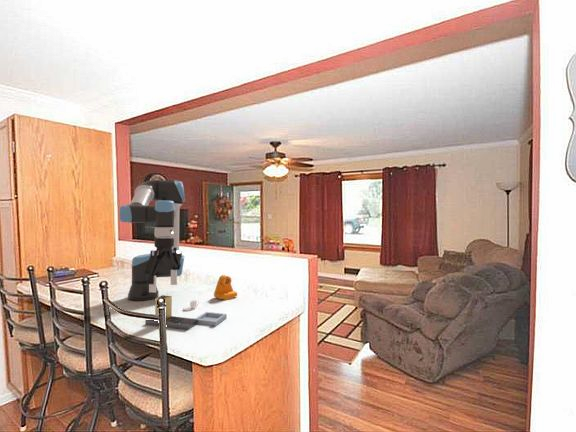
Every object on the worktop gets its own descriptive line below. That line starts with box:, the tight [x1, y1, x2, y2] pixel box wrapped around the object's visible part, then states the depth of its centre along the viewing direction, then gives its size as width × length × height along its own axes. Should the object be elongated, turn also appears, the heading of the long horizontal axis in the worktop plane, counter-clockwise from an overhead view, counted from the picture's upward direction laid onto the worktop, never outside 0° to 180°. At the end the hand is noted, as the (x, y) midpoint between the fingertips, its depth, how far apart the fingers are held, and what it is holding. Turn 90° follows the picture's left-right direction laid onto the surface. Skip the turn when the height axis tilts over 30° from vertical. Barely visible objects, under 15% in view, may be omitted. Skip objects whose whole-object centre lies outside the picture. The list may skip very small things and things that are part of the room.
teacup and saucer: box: [182, 300, 203, 312], centre depth 147 cm, size 9×8×4 cm
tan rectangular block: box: [154, 294, 173, 321], centre depth 126 cm, size 4×4×11 cm
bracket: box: [213, 274, 238, 301], centre depth 167 cm, size 11×7×12 cm, turn 131°
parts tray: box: [194, 311, 227, 327], centre depth 131 cm, size 10×10×2 cm
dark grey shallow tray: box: [144, 315, 199, 331], centre depth 125 cm, size 20×7×2 cm, turn 75°
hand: (163, 288), depth 126 cm, fingers open, 13 cm apart
